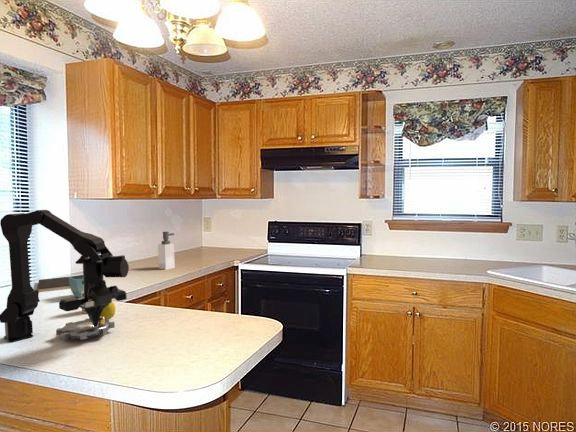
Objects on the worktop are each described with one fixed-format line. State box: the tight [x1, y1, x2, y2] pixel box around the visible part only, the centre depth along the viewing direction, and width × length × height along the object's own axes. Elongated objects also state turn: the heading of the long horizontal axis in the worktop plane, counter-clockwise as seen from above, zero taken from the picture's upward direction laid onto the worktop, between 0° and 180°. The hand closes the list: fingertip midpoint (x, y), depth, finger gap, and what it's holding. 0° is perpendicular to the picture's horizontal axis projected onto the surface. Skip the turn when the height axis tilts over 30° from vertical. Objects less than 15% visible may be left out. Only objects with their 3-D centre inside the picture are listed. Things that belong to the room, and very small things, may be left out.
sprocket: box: [55, 316, 116, 341], centre depth 131 cm, size 17×17×4 cm
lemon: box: [100, 301, 116, 320], centre depth 146 cm, size 6×6×8 cm
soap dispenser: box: [157, 231, 176, 270], centre depth 244 cm, size 6×9×22 cm
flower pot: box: [67, 274, 84, 299], centre depth 181 cm, size 9×9×9 cm
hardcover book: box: [36, 275, 72, 293], centre depth 203 cm, size 16×23×2 cm
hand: (95, 326), depth 128 cm, fingers closed
